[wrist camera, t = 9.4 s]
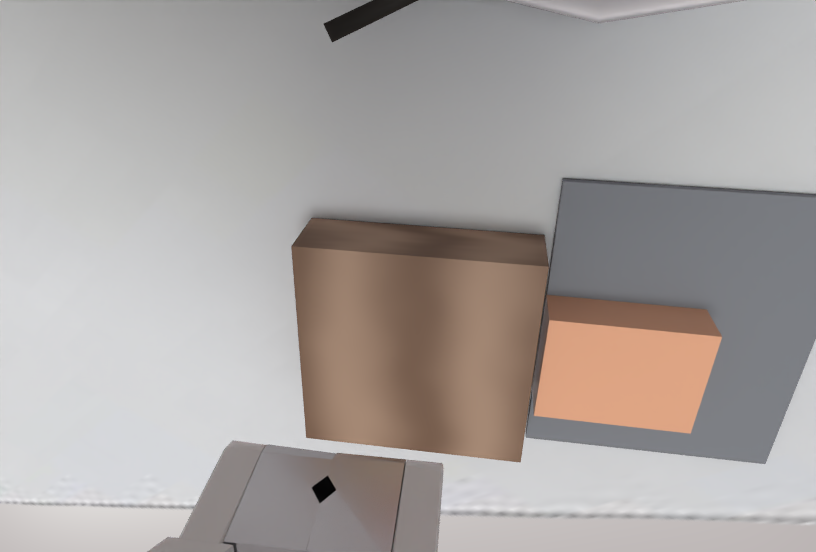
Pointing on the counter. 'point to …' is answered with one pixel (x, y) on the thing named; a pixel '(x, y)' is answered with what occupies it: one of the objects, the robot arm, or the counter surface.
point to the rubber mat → (697, 299)
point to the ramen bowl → (588, 3)
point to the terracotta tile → (623, 363)
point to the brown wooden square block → (418, 335)
